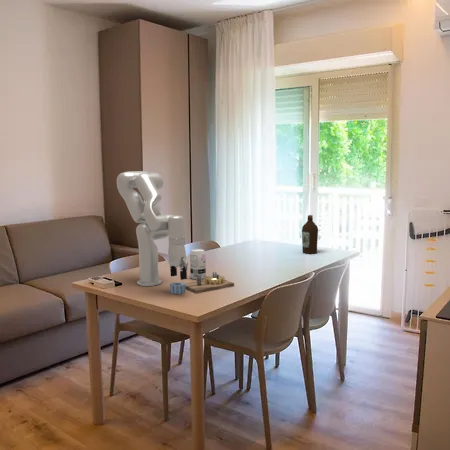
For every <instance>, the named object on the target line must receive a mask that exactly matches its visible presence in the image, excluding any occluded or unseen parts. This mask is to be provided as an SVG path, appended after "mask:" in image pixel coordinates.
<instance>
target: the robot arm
mask: <svg viewBox="0 0 450 450" xmlns="http://www.w3.org/2000/svg"><path fill="white" fill-rule="evenodd" d="M116 187H117V191H118V192H119V195H120V196H121V198H122V199H123V200H124V202H125V204H126V207H127V209H128V211H129V213H130V214H129V215H130V216H131V218H132V219H133V221H134V222H135V223H136V224H138V223H139V224H138V225H137V226H136V228H135V233H136V235H135V236H136V239H137V244H138V263H139V264H138V265H139V267H138V268H139V279H138V280H137V282H136V284H137V285H138V286H142V287H154V286H159V285H161V284H162V283H163V282H162V279H161V278H160V277H159V275H160V274H159V272H160V271H159V251H158V246H157V244H156V243H155V240H163V239H166V238H167V237H168V253H167V254H168V256H167V257H168V265H169V268H170V269H169V270H170V277H177V276H178V268H179V270H180V271H179V274H180V275H179V277H180V280H181V281H182V280H187V279H188V265H189V263H188V261H187V253H186V252H187V251H186V247H185V245H186V239H185V238H186V237H185V219H184V216H183V215H176V214H171V213H170V214H169V213H168V214H164V212H163V210H162V208H161V206H159V203H160V202H161V200H162V194H161V193H160V191H159V190H160V189H161V188H163V187H164V179H163V176H162V175H161V174H160V173H158V172H155V171H147V170H138V171H137V170H135V171H133V170H132V171H124V172H121V173H119V174H118V175H117V178H116ZM134 188H136V189H138V192H137V190H135V189H134Z"/></svg>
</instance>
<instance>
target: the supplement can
mask: <svg viewBox="0 0 450 450" xmlns="http://www.w3.org/2000/svg"><path fill="white" fill-rule="evenodd" d="M206 253H207V252H205V249H204V248H203V249H202V248H194V249H191V250H190V253H189V270H190V272H189V273H190V274H189V275H190V276H189V277H190V278H191V279H192V280H197V275H201V280H205V278H206V276H207V269H206V268H207V267H206V266H207V265H206V260H207V259H206Z"/></svg>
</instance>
